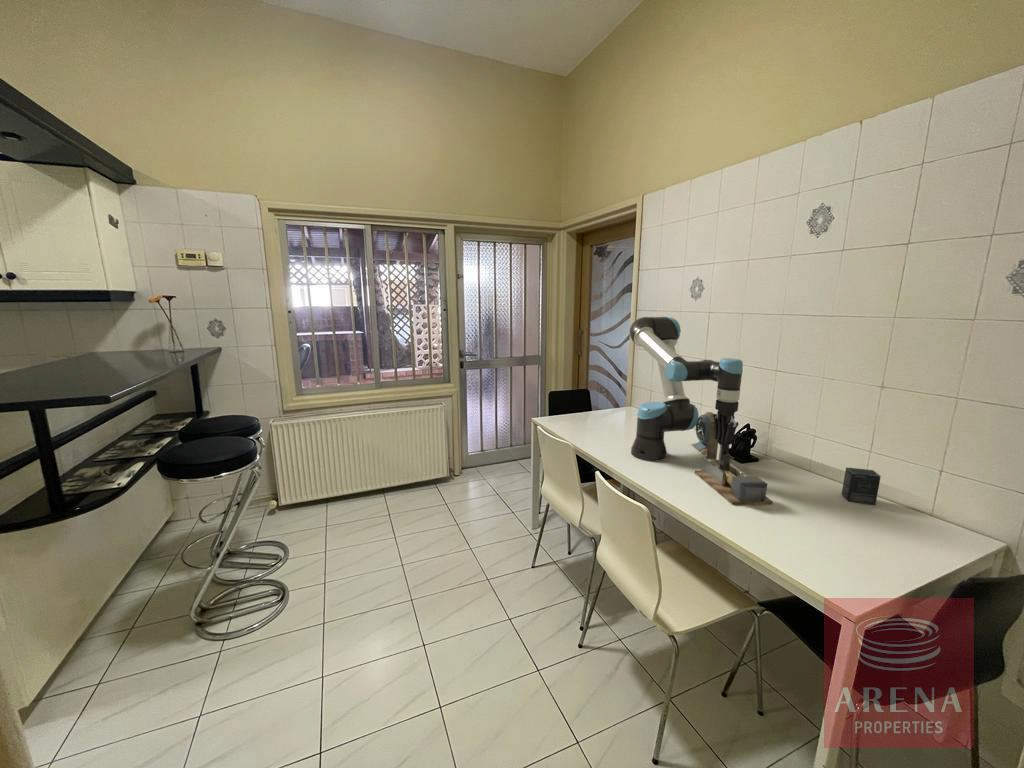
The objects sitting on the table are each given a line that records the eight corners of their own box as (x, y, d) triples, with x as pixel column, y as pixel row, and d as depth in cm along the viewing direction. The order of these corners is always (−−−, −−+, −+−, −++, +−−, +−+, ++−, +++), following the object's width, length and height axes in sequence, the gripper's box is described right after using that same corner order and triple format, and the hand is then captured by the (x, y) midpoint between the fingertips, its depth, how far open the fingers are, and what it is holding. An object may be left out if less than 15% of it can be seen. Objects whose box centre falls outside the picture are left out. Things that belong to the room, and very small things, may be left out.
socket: (730, 493, 141) (732, 476, 140) (753, 493, 141) (756, 476, 140) (740, 501, 135) (742, 483, 134) (765, 501, 135) (767, 483, 134)
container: (706, 468, 165) (710, 426, 162) (703, 460, 174) (707, 420, 170) (730, 471, 162) (735, 428, 159) (726, 463, 171) (731, 422, 167)
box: (867, 498, 140) (873, 469, 138) (875, 505, 135) (881, 476, 133) (840, 494, 143) (845, 466, 141) (847, 501, 138) (852, 472, 136)
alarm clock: (690, 443, 194) (693, 408, 191) (710, 444, 194) (714, 408, 190) (702, 454, 180) (706, 416, 177) (724, 455, 180) (729, 417, 176)
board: (694, 472, 161) (694, 470, 160) (728, 472, 161) (728, 470, 161) (732, 504, 135) (732, 502, 135) (772, 504, 136) (772, 501, 136)
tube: (709, 472, 158) (712, 448, 157) (719, 472, 159) (722, 448, 157) (730, 488, 145) (733, 462, 143) (740, 488, 145) (744, 462, 143)
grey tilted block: (702, 470, 160) (703, 458, 159) (721, 470, 161) (722, 458, 160) (721, 486, 147) (723, 473, 146) (742, 485, 147) (744, 472, 146)
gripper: (708, 396, 156) (702, 453, 160) (727, 404, 143) (720, 466, 148) (727, 396, 156) (720, 453, 161) (748, 404, 144) (740, 466, 148)
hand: (720, 459), depth 154 cm, fingers closed
